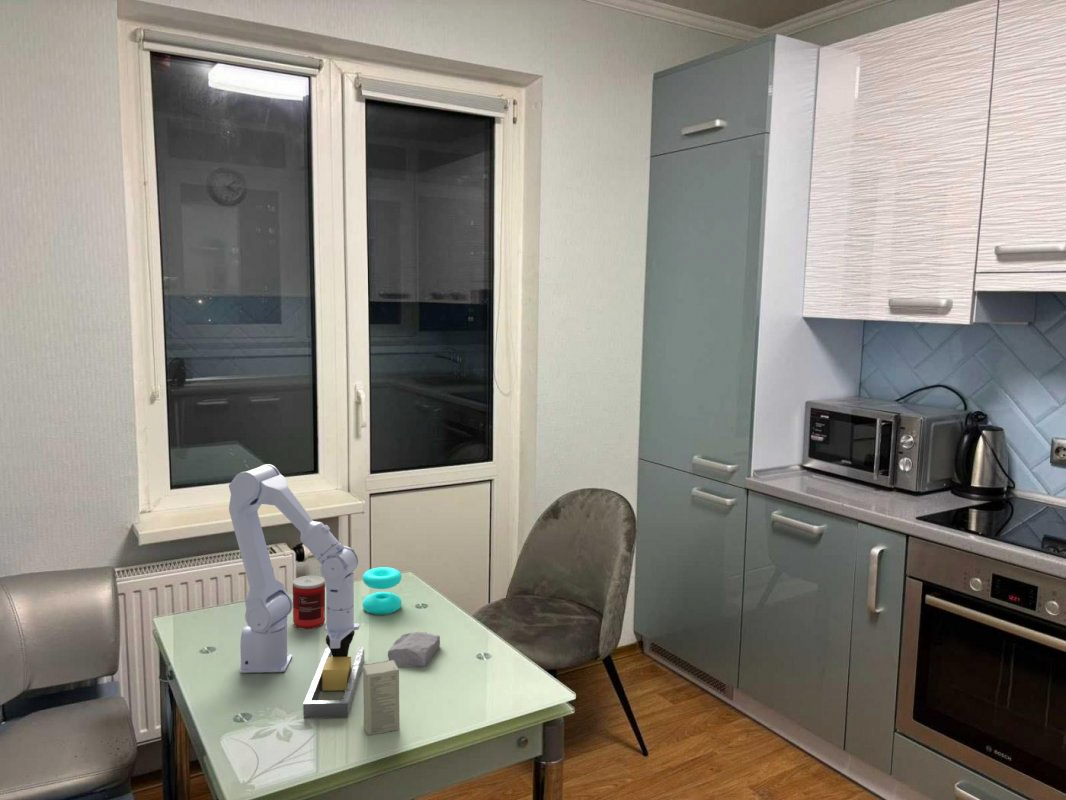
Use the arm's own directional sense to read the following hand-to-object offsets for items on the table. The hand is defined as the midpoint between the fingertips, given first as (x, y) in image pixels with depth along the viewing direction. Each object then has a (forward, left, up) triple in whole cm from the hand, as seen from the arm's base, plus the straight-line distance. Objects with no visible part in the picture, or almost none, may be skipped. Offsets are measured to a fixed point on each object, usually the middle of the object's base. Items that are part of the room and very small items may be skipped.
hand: (340, 666), depth 172 cm
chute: (0, -5, -2) cm, 5 cm away
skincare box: (+11, -22, -2) cm, 25 cm away
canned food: (-12, +28, -2) cm, 31 cm away
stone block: (+15, +10, -2) cm, 18 cm away
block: (0, -4, -2) cm, 5 cm away
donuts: (+5, +37, -2) cm, 38 cm away
